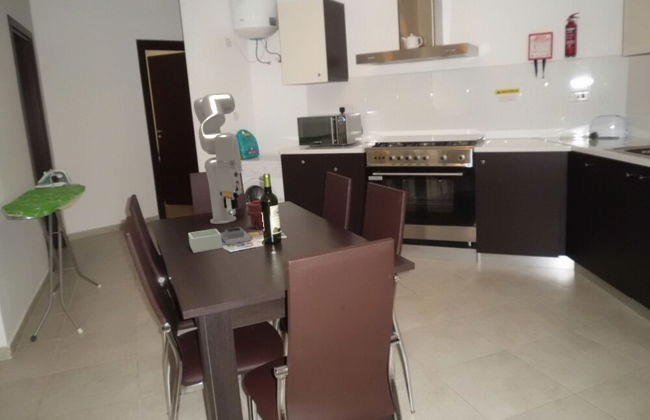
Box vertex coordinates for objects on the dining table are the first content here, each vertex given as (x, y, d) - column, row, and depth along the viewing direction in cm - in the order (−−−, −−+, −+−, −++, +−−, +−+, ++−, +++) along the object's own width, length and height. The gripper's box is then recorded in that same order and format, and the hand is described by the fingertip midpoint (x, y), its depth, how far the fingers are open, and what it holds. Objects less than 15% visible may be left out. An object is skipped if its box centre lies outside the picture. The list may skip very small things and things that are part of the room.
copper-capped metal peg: (231, 212, 214) (228, 189, 212) (240, 213, 212) (237, 189, 209) (223, 215, 210) (220, 191, 208) (232, 215, 208) (229, 192, 205)
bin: (190, 246, 207) (188, 232, 205) (217, 241, 211) (216, 228, 209) (193, 252, 196) (191, 239, 195) (222, 247, 200) (220, 234, 199)
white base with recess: (220, 237, 217) (219, 228, 216) (243, 233, 221) (242, 224, 220) (226, 244, 204) (225, 235, 203) (250, 240, 208) (249, 231, 207)
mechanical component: (273, 224, 233) (266, 230, 223) (252, 225, 235) (245, 230, 225) (270, 198, 230) (263, 203, 221) (250, 199, 232) (242, 203, 223)
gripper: (247, 163, 204) (252, 207, 209) (218, 162, 213) (223, 204, 218) (234, 166, 198) (239, 211, 203) (205, 165, 207) (210, 208, 212)
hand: (231, 207), depth 210 cm, fingers closed on copper-capped metal peg, 3 cm apart
